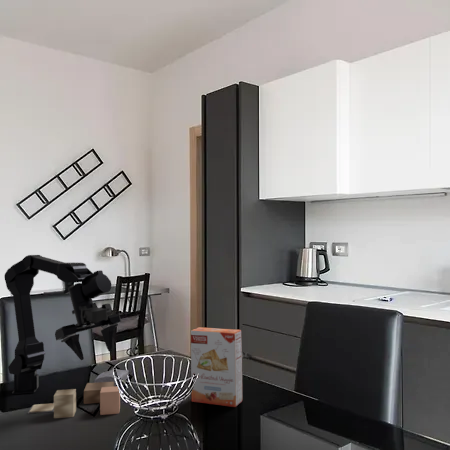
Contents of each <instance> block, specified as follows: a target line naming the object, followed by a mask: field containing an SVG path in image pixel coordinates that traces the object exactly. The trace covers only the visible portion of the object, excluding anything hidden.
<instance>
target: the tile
mask: <svg viewBox="0 0 450 450" xmlns="http://www.w3.org/2000/svg"><path fill="white" fill-rule="evenodd" d="M42 413H43V414H44V413H54V402H53V403H40V404H39V403H38V404H33V405H31V407H30V408H29V410H28V411H27V414H29V415H30V414H42Z"/></svg>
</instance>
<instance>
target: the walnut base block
mask: <svg viewBox="0 0 450 450" xmlns="http://www.w3.org/2000/svg"><path fill="white" fill-rule="evenodd" d="M102 387H114V382H99V383H94V382H87V383H86V385H85V388H84V390H83V404H84V405H86V404H87V405H88V404H100V391H101V388H102Z"/></svg>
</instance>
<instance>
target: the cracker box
mask: <svg viewBox="0 0 450 450" xmlns="http://www.w3.org/2000/svg"><path fill="white" fill-rule="evenodd" d="M242 339H243V338H242V330H241V329H234V328H233V329H232V328H214V327H200V326H199V327H196V328H194V329H191V330H190V371H191V372H190V377H191V378H192V377H193V375H194V374H195V375H197V374H198V373H199V375H198V378H197V381H196V383H195V385H194V388H193V390H192V392H191V393H190V394H191V402H192V403H193V402H194V403H202V404H209V405H217V406H223V407H224V406H225V407H231V408H237V406H238V405H239V404H241V403H242V402H243V354H242V353H243V351H242V349H243V348H242V347H243V345H242V343H243V342H242ZM191 378H190V379H191ZM194 381H195V378H194V379H193V382H194Z"/></svg>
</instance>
